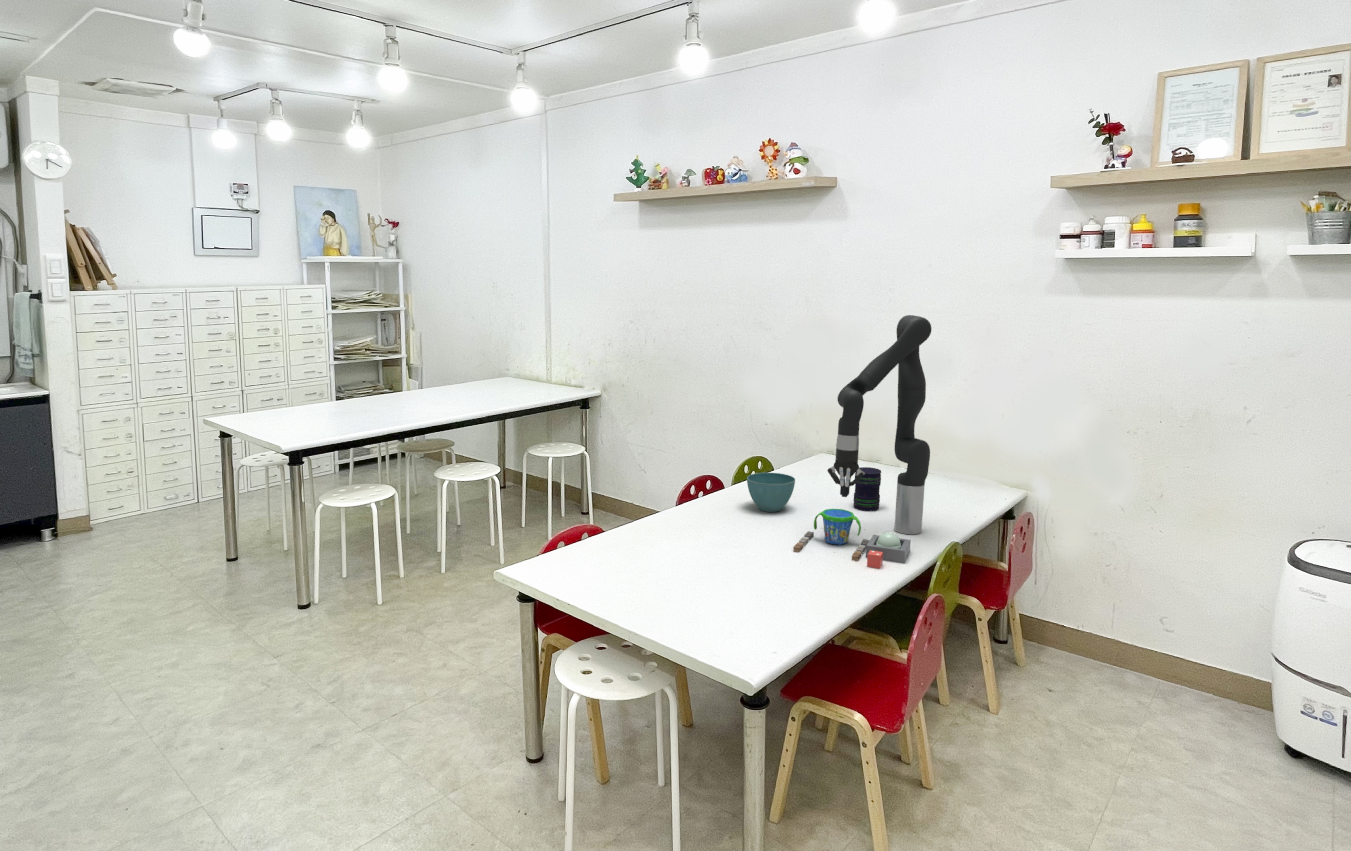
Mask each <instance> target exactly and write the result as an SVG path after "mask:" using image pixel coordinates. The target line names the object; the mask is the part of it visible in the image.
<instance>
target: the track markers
mask: <svg viewBox="0 0 1351 851" xmlns="http://www.w3.org/2000/svg"><path fill="white" fill-rule="evenodd" d="M814 534H815V533H814V531H811V530H809V531H807V532H806V533H805V534H804V535H803V536H802V537H801V538H800V539H799V540H798V542H796V543H795V544H794V546H793V549H792V550H793V553H801V551H802V550H803V549H804V547H806V545H808V543H809V541H811V540H812V539H811V538H814V536H815V535H814ZM869 541H870V539H865V538H863V539H862V541H861V542H860V544H858V546H857V547H856V550H855V551H854V552H853V553H852V554H851V561H853V560H855V562H859V560H860V559H861V557H862V555H863V554H864V553H865V552H866V549H865V548H866V545H867V544H868V542H869ZM863 552H864V553H863ZM861 554H862V555H861Z"/></svg>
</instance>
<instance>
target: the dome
mask: <svg viewBox="0 0 1351 851" xmlns="http://www.w3.org/2000/svg"><path fill="white" fill-rule="evenodd" d="M899 538H900V537H899V536H898V535H897V534H895V533H894V532H890V531H886V532H883V533H881V534H880V536H879V538H878V541H877V544H876V545H878V546H885V547H892V548H899V549H900V548H901V543H900V540H899Z"/></svg>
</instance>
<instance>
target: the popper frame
mask: <svg viewBox="0 0 1351 851" xmlns="http://www.w3.org/2000/svg"><path fill="white" fill-rule="evenodd" d="M880 535H881V534H880ZM880 535H879V534H873V535H872V537H871V538H870V539H869V542H868V544H867V545H866V549H865V558H866V559H867V556H868V553H869V551H870V550H872V551H879V552H883V561H887V562H893V563H894V562H895V563H901V564H905V562H906V560H907V559H908V556H909V554H910V552H911V542H912V540H911V539H907V538H902V537H901V538H900V537H898V538H899V540H900V543H901V548H900V549H899V548H892V547H885V546H878V545H876V544H877V541H878V538H879V536H880Z"/></svg>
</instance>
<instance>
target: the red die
mask: <svg viewBox="0 0 1351 851" xmlns="http://www.w3.org/2000/svg"><path fill="white" fill-rule="evenodd" d="M866 560H867V562H866V567H868V568H875V569H881V567H882V565H883V561H884V560H883V552H879V551H872V550H870V551H869V553H868V556H867V558H866Z"/></svg>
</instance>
